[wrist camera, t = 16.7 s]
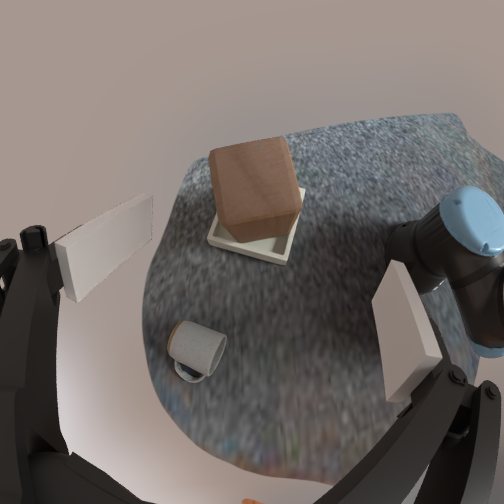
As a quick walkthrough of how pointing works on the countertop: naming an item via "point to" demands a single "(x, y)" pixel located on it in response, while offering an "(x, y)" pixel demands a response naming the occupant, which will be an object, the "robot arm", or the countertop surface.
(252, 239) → the wooden block
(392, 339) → the robot arm
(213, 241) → the sage tray
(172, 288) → the countertop surface
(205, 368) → the ceramic mug
